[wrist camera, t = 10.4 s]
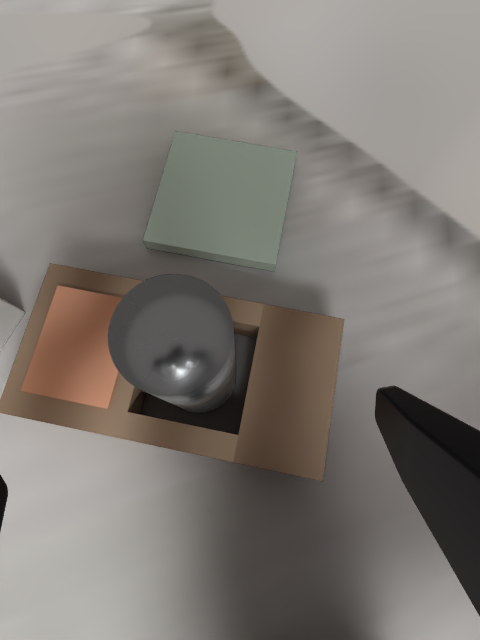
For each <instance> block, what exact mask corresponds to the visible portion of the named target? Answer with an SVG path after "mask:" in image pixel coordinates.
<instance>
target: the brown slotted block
mask: <svg viewBox="0 0 480 640" xmlns="http://www.w3.org/2000/svg"><path fill="white" fill-rule="evenodd" d="M141 282H143V281H141V280H136V279H131V278H125V277H120V276H115V275H110V274H104V273H99V272H94V271H89V270H83V269H78V268H73V267H68V266H62V265H57V264H52V263H50V265H49V267H48V270H47V273H46V276H45V278H44V281H43V284H42V287H41V289H40V292H39V295H38V298H37V300H36V303H35V306H34V309H33V311H32V314H31V317H30V320H29V322H28V325H27V328H26V331H25V333H24V336H23V339H22V342H21V344H20V347H19V350H18V353H17V355H16V358H15V361H14V364H13V366H12V369H11V372H10V375H9V377H8V380H7V383H6V386H5V388H4V391H3V394H2V397H1V399H0V413H4V414H8V415H13V416H18V417H22V418H27V419H32V420H37V421H41V422H46V423H51V424H55V425H60V426H65V427H69V428H74V429H79V430H84V431H88V432H93V433H98V434H102V435H107V436H112V437H116V438H121V439H126V440H131V441H135V442H140V443H145V444H149V445H154V446H159V447H164V448H168V449H173V450H178V451H182V452H187V453H192V454H196V455H201V456H206V457H211V458H215V459H220V460H225V461H229V462H234V463H239V464H243V465H248V466H253V467H258V468H262V469H267V470H272V471H276V472H281V473H286V474H291V475H295V476H300V477H305V478H309V479H314V480H319V481H323V476H324V469H325V461H326V453H327V446H328V438H329V431H330V423H331V415H332V408H333V400H334V393H335V385H336V378H337V370H338V362H339V355H340V347H341V340H342V332H343V325H344V319H341V318H335V317H330V316H325V315H320V314H314V313H309V312H304V311H299V310H293V309H288V308H283V307H278V306H272V305H267V304H262V303H257V302H251V301H246V300H241V299H236V298H230V297H225V296H221V297H222V298H223V299H224V301H225V302H226V304H227V306H228V308H229V311H230V313H231V316H232V320H233V327H234V333H236V334H241V335H246V336H251V337H256V338H257V341H256V347H255V352H254V357H253V362H252V367H251V372H250V378H249V383H248V388H247V393H246V398H245V403H244V409H243V414H242V419H241V424H240V429H239V435H236V434H231V433H227V432H222V431H217V430H212V429H207V428H203V427H198V426H193V425H188V424H184V423H179V422H174V421H169V420H164V419H160V418H155V417H150V416H145V415H140V412H141V408H142V404H143V400H144V397H145V393H146V392H144V391H142V390H140V389H138V388H136V387H135V386H133V385H132V384H130V383H129V382H128V381H127V380H125V378H124V377H123V376H122V375H121V374H120V373H119V371H118V370H117V368H116V367H115V365H114V363H113V361H112V358H111V355H110V352H109V347H108V328H109V324H110V320H111V317H112V315H113V312H114V310H115V308H116V306H117V305H118V303H119V302H120V301H121V299H122V298H123V297H124V296H125V295H126V294H127V293H128V292H129V291H130V290H131V289H132V288H134V287H135V286H136V285H138V284H139V283H141Z"/></svg>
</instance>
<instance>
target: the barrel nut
mask: <svg viewBox="0 0 480 640" xmlns="http://www.w3.org/2000/svg"><path fill="white" fill-rule="evenodd" d="M108 347H109V352H110V355H111V358H112V361H113V363H114V365H115V367H116V368H117V370H118V371H119V373H120V374H121V375H122V376H123V377H124V378H125V380H127V381H128V382H129V383H130V384H132V385H133V386H135V387H136V388H138V389H140V390H142V391H144V392H147V393H149V394H151V395H153V396H156V397H158V398H160V399H162V400H165V401H167V402H169V403H171V404H174V405H176V406H178V407H180V408H183V409H185V410H187V411H190V412H196V413H203V412H209V411H212V410H214V409H216V408H218V407H220V406H221V405H222V404H224V403H225V402H226V401H227V399H228V398H229V397H230V395H231V394H232V392H233V389H234V386H235V382H236V365H235V345H234V327H233V320H232V316H231V313H230V311H229V308H228V306H227V304H226V302H225V301H224V299H223V298H222V297H221V295H220V294H219V293H218V292H217V291H216V290H215V289H214V288H213V287H211V286H210V285H209V284H207V283H205V282H204V281H202V280H200V279H197V278H195V277H192V276H188V275H182V274H166V275H160V276H156V277H153V278H150V279H147V280H145V281H143V282H141V283H139V284H138V285H136V286H135V287H134V288H132V289H131V290H130V291H129V292H128V293H127V294H126V295H125V296H124V297H123V298H122V299H121V301H120V302H119V303H118V305H117V306H116V308H115V310H114V312H113V315H112V317H111V320H110V324H109V328H108Z"/></svg>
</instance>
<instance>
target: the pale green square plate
mask: <svg viewBox="0 0 480 640" xmlns="http://www.w3.org/2000/svg"><path fill="white" fill-rule="evenodd" d="M296 155H297V151H291V150H285V149H279V148H273V147H268V146H262V145H256V144H250V143H244V142H238V141H232V140H226V139H220V138H214V137H208V136H203V135H197V134H191V133H185V132H179V131H175V134H174V137H173V140H172V144H171V147H170V150H169V154H168V157H167V161H166V164H165V167H164V171H163V174H162V177H161V181H160V184H159V187H158V191H157V194H156V197H155V201H154V204H153V208H152V211H151V214H150V218H149V221H148V224H147V228H146V231H145V234H144V238H143V242H144V244H145V246H146V248H150V249H155V250H160V251H166V252H171V253H177V254H182V255H187V256H193V257H198V258H203V259H209V260H214V261H220V262H225V263H230V264H236V265H241V266H246V267H252V268H257V269H263V270H268V271H273V272H274V270H275V266H276V261H277V255H278V250H279V245H280V240H281V234H282V229H283V224H284V219H285V213H286V208H287V203H288V198H289V192H290V187H291V182H292V176H293V171H294V166H295V161H296Z"/></svg>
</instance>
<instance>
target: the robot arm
mask: <svg viewBox="0 0 480 640" xmlns="http://www.w3.org/2000/svg"><path fill="white" fill-rule="evenodd" d="M375 419H376V422H377V425H378V427H379V430H380V432H381V434H382V436H383V439H384V441H385V443H386V445H387V448H388V450H389V452H390V455H391V457H392V459H393V461H394V464H395V466H396V468H397V471H398V473H399V475H400V477H401V479H402V481H403V483H404V485H405V487H406V489H407V490H408V492H409V494H410V496H411V497H412V499H413V501H414V503H415V504H416V506H417V508H418V510H419V511H420V513H421V515H422V517H423V518H424V520H425V522H426V524H427V525H428V527H429V529H430V531H431V532H432V534H433V536H434V537H435V539H436V541H437V543H438V544H439V546H440V548H441V550H442V551H443V553H444V555H445V557H446V558H447V560H448V562H449V564H450V565H451V567H452V569H453V571H454V572H455V574H456V576H457V578H458V579H459V581H460V583H461V584H462V586H463V588H464V590H465V591H466V593H467V595H468V597H469V598H470V600H471V602H472V604H473V605H474V607H475V609H476V611H477V612H478V614H479V616H480V431H479V430H477V429H475V428H473V427H471V426H470V425H468V424H466V423H464V422H462V421H460V420H458V419H457V418H455V417H453V416H451V415H449V414H447V413H445V412H443V411H442V410H440V409H438V408H436V407H434V406H432V405H430V404H429V403H427V402H425V401H423V400H421V399H419V398H417V397H415V396H414V395H412V394H410V393H408V392H406V391H404V390H402V389H401V388H399V387H397V386H388V387H382V388H379V389H378V390H377V393H376V405H375ZM7 497H8V488H7V485H6V483H5V482H4V480H3V478H2V477H1V475H0V531H1V526H2V521H3V516H4V512H5V507H6V502H7Z"/></svg>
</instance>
